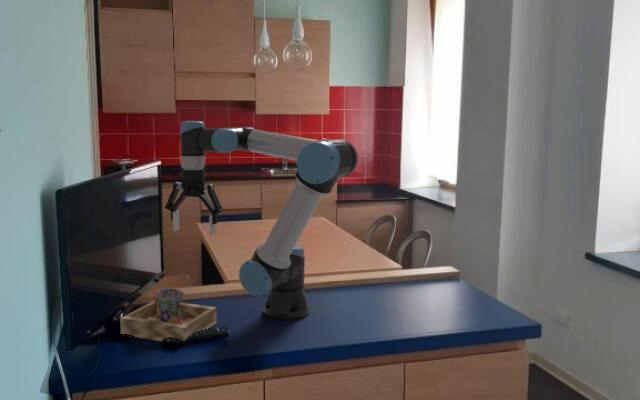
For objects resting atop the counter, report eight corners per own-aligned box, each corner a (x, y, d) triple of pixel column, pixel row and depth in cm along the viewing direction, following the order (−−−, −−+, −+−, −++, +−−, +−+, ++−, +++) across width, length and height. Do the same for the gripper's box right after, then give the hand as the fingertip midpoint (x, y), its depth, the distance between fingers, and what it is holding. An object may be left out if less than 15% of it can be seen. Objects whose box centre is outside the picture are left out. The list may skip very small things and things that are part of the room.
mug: (185, 330, 183) (184, 296, 181) (153, 333, 180) (152, 299, 178) (182, 317, 194) (182, 285, 192) (152, 319, 191) (151, 287, 190)
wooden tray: (216, 322, 193) (216, 307, 192) (185, 345, 175) (184, 327, 174) (156, 314, 199) (156, 299, 199) (120, 334, 182) (120, 318, 181)
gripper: (232, 169, 197) (233, 232, 201) (166, 165, 205) (167, 227, 208) (222, 171, 190) (222, 237, 194) (153, 167, 198) (155, 231, 201)
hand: (194, 232), depth 201 cm, fingers open, 13 cm apart
